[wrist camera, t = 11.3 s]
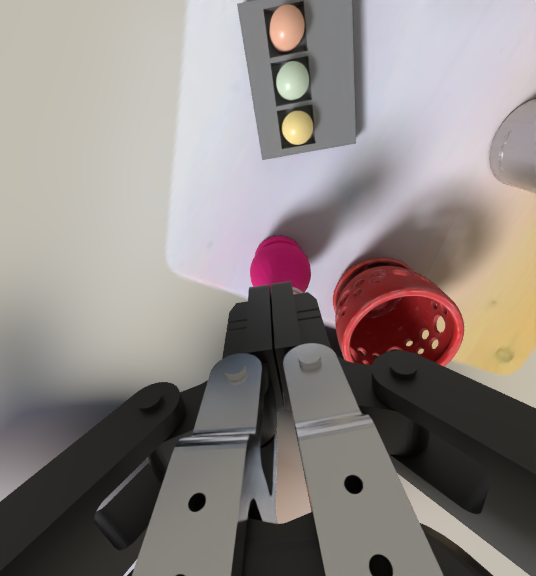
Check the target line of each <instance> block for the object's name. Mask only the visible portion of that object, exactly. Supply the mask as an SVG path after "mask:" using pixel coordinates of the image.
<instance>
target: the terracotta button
mask: <svg viewBox="0 0 536 576" xmlns="http://www.w3.org/2000/svg"><path fill="white" fill-rule="evenodd" d="M304 27H305V24H304V18H303V15H302V13H301V12H300V10H299V9H298V8H296V7H295V6H293V5H289V4H287V5H282V6H280V7H279V8H278V9H277V10H276V11H275V12H274V14H273V16H272V18H271V22H270V31H269V37H270V42H271V44H272V46H273V47H274V49H275V50H277V51H278V52H280V53H289V52H291V51H293V50H294V49H295V48H296V47H297V45H298V44H299V42H300V40H301V38H302V36H303V33H304Z"/></svg>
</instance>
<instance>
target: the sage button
mask: <svg viewBox="0 0 536 576" xmlns="http://www.w3.org/2000/svg"><path fill="white" fill-rule="evenodd" d="M308 85H309V74H308V71H307V69H306V68H305V66H304V65H303V64H301V63H299V62H296V61H291V62H288V63H286V64H285V65H283V66H282V67H281V69H280V71H279V73H278V75H277V77H276V89H277V92H278V94H279V95H280V96H281V97H282V98H283V99H286V100H294V99H298V98H300V97H301V96H302V95H303V94H304V93H305V92H306V90H307V88H308Z"/></svg>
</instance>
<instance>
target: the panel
mask: <svg viewBox="0 0 536 576" xmlns="http://www.w3.org/2000/svg"><path fill="white" fill-rule="evenodd" d="M287 4H289V5H293V6H295V7H296V8H298V9H299V10H300V12H301V13H302V15H303V18H304V24H305V27H304V33H303V36H302V38H301V40H300V42H299V44H298V45H297V47H296V48H295V49H294V50H293V51H291V52H289V53H280V52H278V51H277V50H275V49H274V47H273V46H272V44H271V42H270V37H269V31H270V22H271V18H272V16H273V14H274V12H275V11H276V10H277V9H278V8H279V7H280V6H282V5H287ZM237 5H238V12H239V18H240V24H241V30H242V36H243V43H244V49H245V55H246V61H247V67H248V74H249V80H250V86H251V92H252V98H253V104H254V111H255V117H256V123H257V129H258V135H259V142H260V148H261V154H262V160H265V159H271V158H276V157H282V156H287V155H293V154H299V153H304V152H310V151H316V150H321V149H327V148H332V147H338V146H344V145H349V144H355V143H356V126H355V90H354V54H353V18H352V0H254V1H249V2H244V3H239V4H237ZM291 61H296V62H299V63H301V64H303V65H304V66H305V68H306V69H307V71H308V74H309V85H308V88H307V90H306V92H305V93H304V94H303V95H302V96H301V97H300V98H298V99H294V100H286V99H283V98H282V97H281V96H280V95H279V94H278V92H277V89H276V77H277V75H278V73H279V71H280V69H281V67H282V66H283V65H285V64H286V63H288V62H291ZM292 111H303V112H305V113H307V114H308V115H309V116H310V118H311V119H312V122H313V132H312V135H311V137H310V138H309V139H308V140H307V141H306V142H305V143H303V144H300V145H295V144H292V143H290V142H289V141H288V140H287V139H286V138H285V137H284V136H283V134H282V130H281V124H282V121H283V118H284V117H285V116H286V115H287V114H288V113H289V112H292Z"/></svg>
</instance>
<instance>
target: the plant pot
mask: <svg viewBox="0 0 536 576" xmlns="http://www.w3.org/2000/svg"><path fill="white" fill-rule="evenodd" d="M436 304H437V306H436ZM333 306H334V310H335V313H336V332H337V337H338V341H339V345H340V348H341V351H342V354H343V356H344V359H345V360H346V361H349V362H352V363H358V364H367V365H372V364H373V362H374V360H375V358H373V356H372V355H377V356H380V355H381V354H383V353H386V352H388V351H390V350H392V349H400V350H402V351H407V352H411V353H415V354H417V355H420V356H422V357H424V358H426V359H428V360H431V361H433V362H435V363H437V364H439V365H442V366H444V367H445V366H446V365H447V364H448V363H449V362H450V361H451V360H452V358H453V357H454V356H455V354H456V353H457V351H458V350H459V348H460V345H461V343H462V340H463V335H464V322H463V318H462V315H461V313H460V310H459V309H458V307H457V306H456V304H455V303H454V302H453V301H452V300H451V299H450V298H449V297H448V296H447V295H446V294H445V293H444V292H443V291H442V290H441V289H440V288H439V287H437V286H436V285H435V284H434V283H432V282H431V281H430V280H428V279H426V278H425V277H423V276H421V275H420V274H418V273H416V272H413V270H412V269H411V268H410V267H408V266H407V265H406V264H404V263H402V262H400V261H398V260H394V259H389V258H375V259H369V260H366V261H363V262H361V263H359V264H357V265H355V266H353V267H352V268H351V269H349V270H348V271H347V272H346V273H345V274H344V275H343V276H342V277H341V279H340V280H339V282H338V283H337V285H336V288H335V290H334V295H333ZM439 316H442V317H443V319H444V321H445V330H444V331H443V332H441V333H440V332H439V331H438V330H437V325H436V324H437V320H438V317H439ZM424 330H428V331H429V336H428V337H427V339H423V338H422V333H423V331H424ZM436 339H438V342H439V344H438V346H437V348H435V349H432V343H433V341H434V340H436ZM408 341H413V344H412V345H411V346H406V343H407V342H408ZM422 348H423V349H424V352H423V353H422V354H418V351H419V350H420V349H422ZM358 350H360V351H362V352H363V353H364V355H365V356H363V355H361V354H360V353H359V351H358ZM351 354H352V355H353V356H354V358H355V359H354V358H353V357H352V355H351Z"/></svg>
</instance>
